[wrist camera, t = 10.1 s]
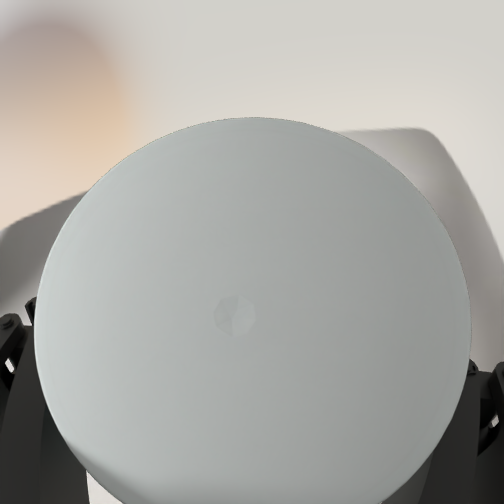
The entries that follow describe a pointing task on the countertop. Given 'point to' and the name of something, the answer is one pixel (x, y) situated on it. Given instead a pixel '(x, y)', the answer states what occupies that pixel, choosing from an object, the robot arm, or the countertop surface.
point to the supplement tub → (252, 321)
